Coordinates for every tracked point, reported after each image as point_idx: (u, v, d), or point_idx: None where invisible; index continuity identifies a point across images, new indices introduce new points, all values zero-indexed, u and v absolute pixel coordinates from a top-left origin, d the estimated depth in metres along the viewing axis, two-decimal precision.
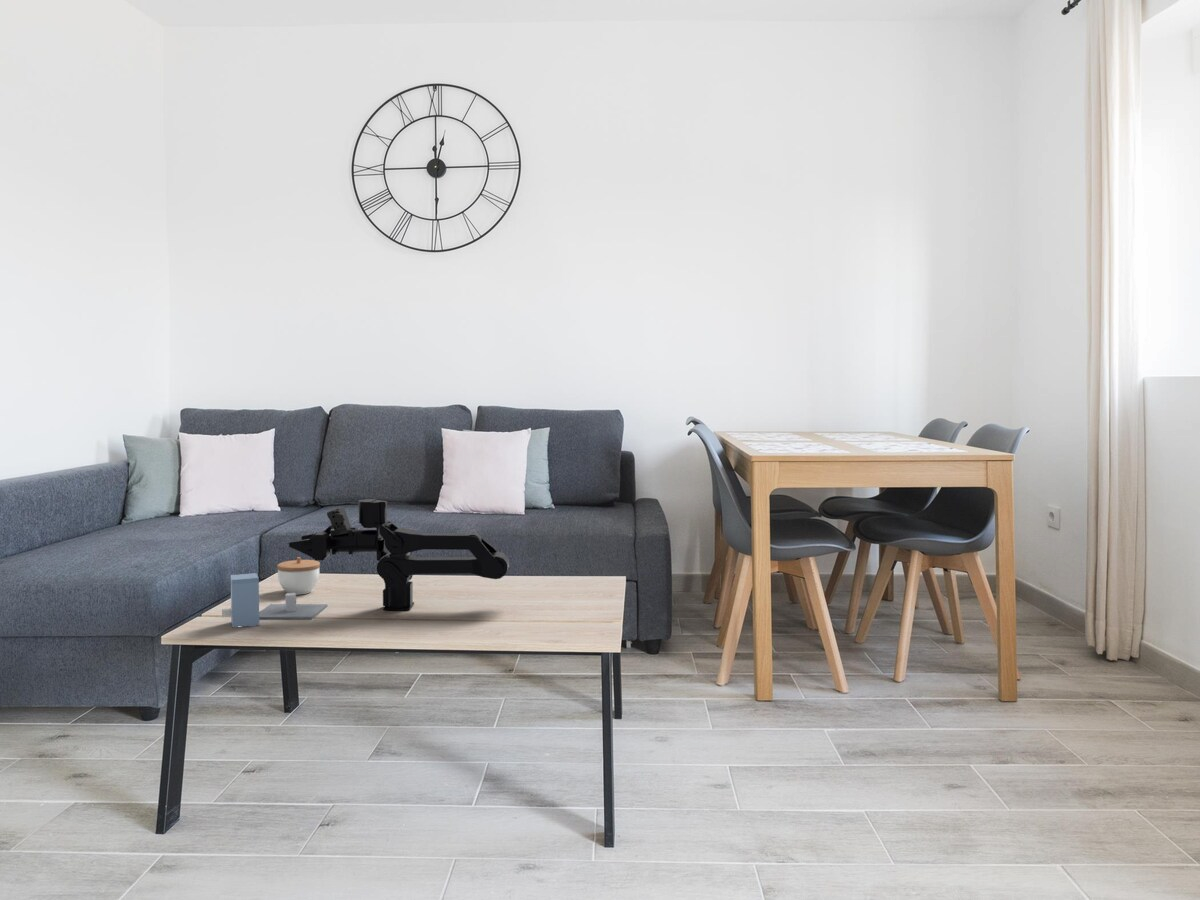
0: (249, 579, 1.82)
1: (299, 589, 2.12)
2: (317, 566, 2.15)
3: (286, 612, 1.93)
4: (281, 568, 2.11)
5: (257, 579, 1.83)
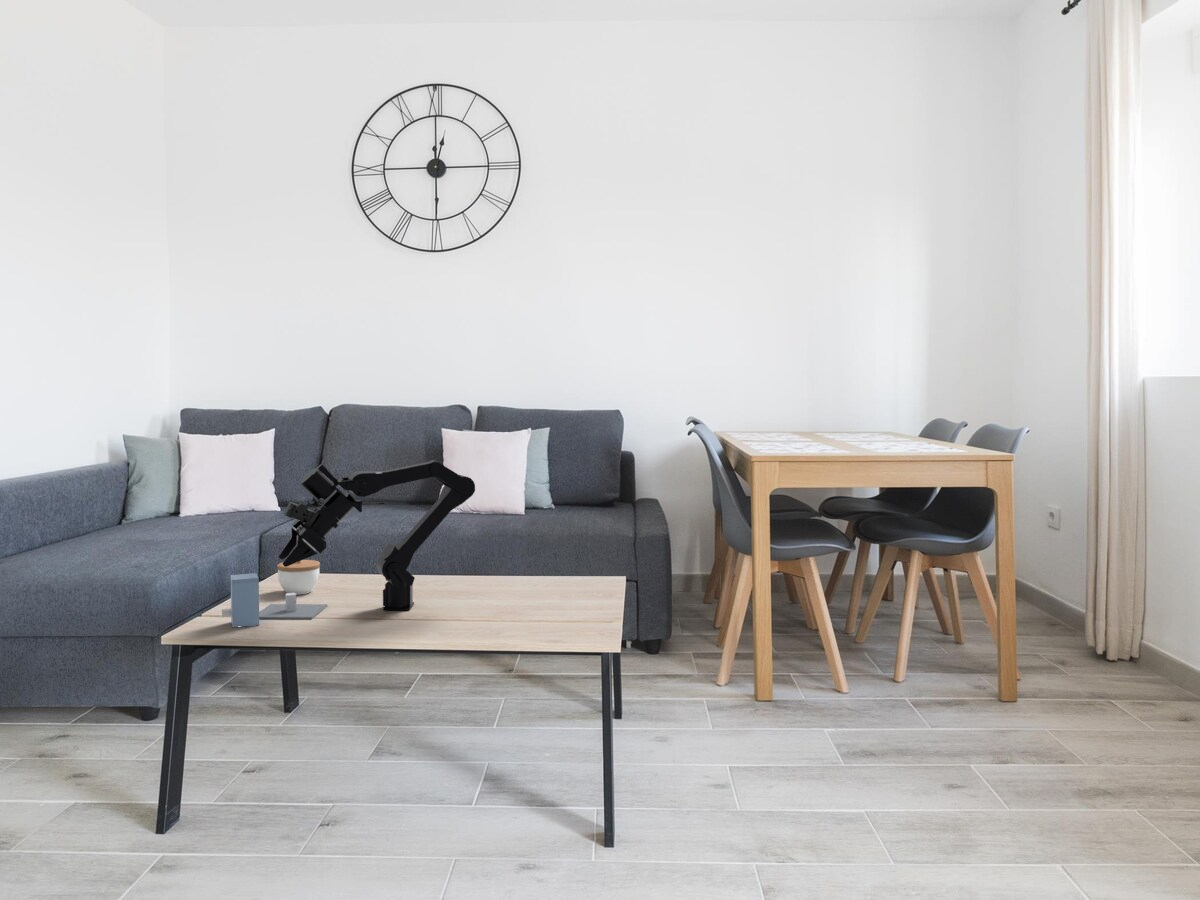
0: (249, 579, 1.82)
1: (299, 589, 2.12)
2: (317, 566, 2.15)
3: (286, 612, 1.93)
4: (281, 568, 2.11)
5: (257, 579, 1.83)
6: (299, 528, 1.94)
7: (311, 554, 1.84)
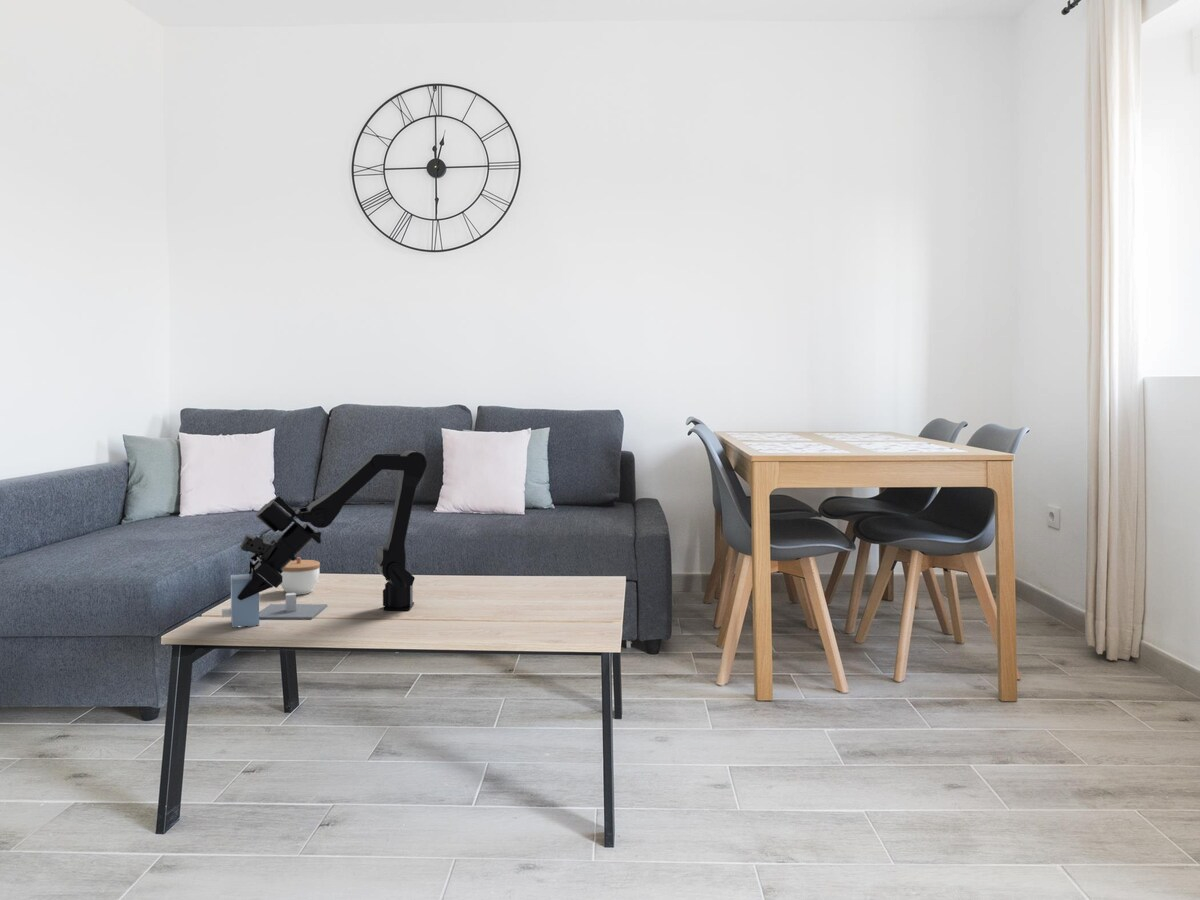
0: (249, 579, 1.82)
1: (299, 589, 2.12)
2: (317, 566, 2.15)
3: (286, 612, 1.93)
4: None
5: None
6: None
7: (266, 587, 1.82)
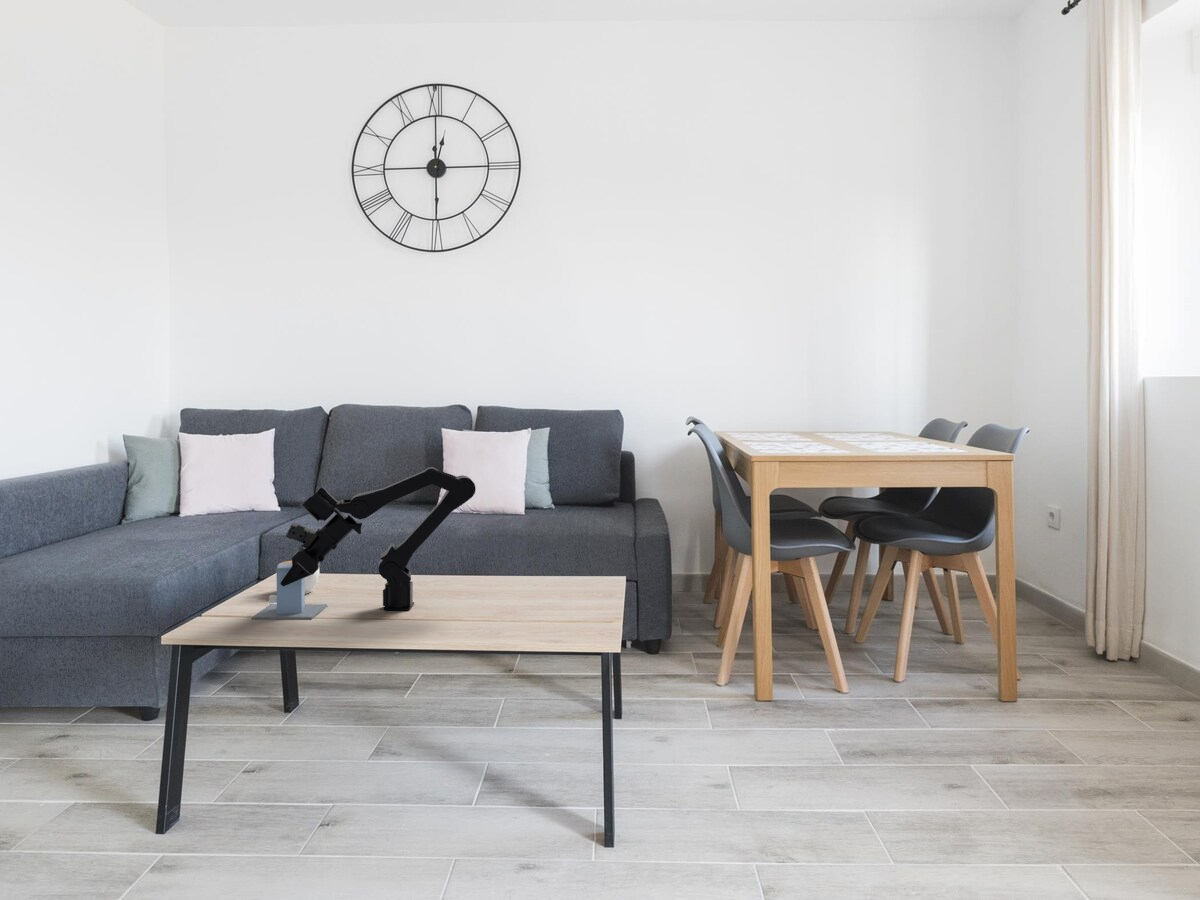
0: None
1: None
2: None
3: None
4: None
5: None
6: None
7: (306, 575, 1.89)
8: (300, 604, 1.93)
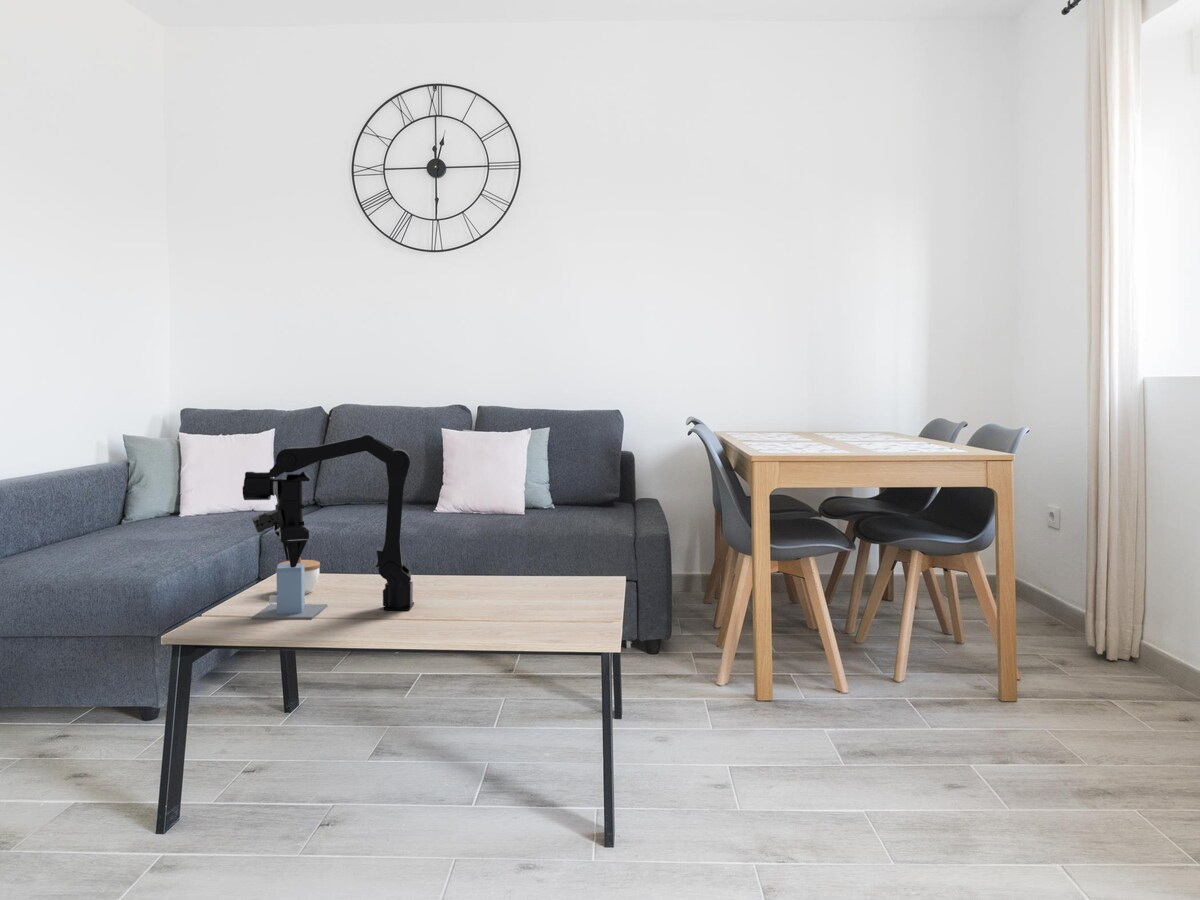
0: (292, 568, 1.92)
1: None
2: (317, 566, 2.15)
3: None
4: None
5: (300, 569, 1.92)
6: (280, 528, 1.98)
7: (304, 543, 1.89)
8: (300, 604, 1.93)
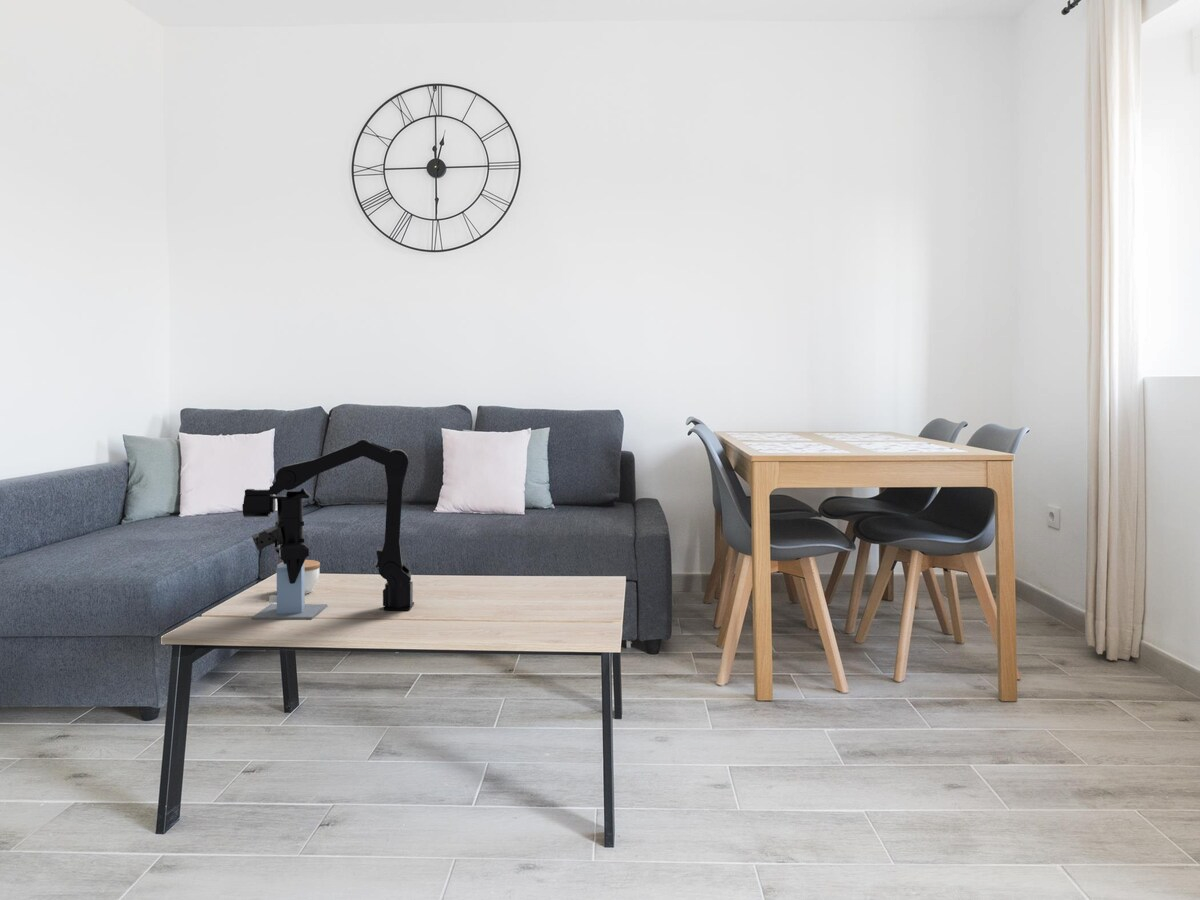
0: None
1: None
2: (317, 566, 2.15)
3: None
4: None
5: None
6: None
7: (303, 560, 1.91)
8: (300, 604, 1.93)
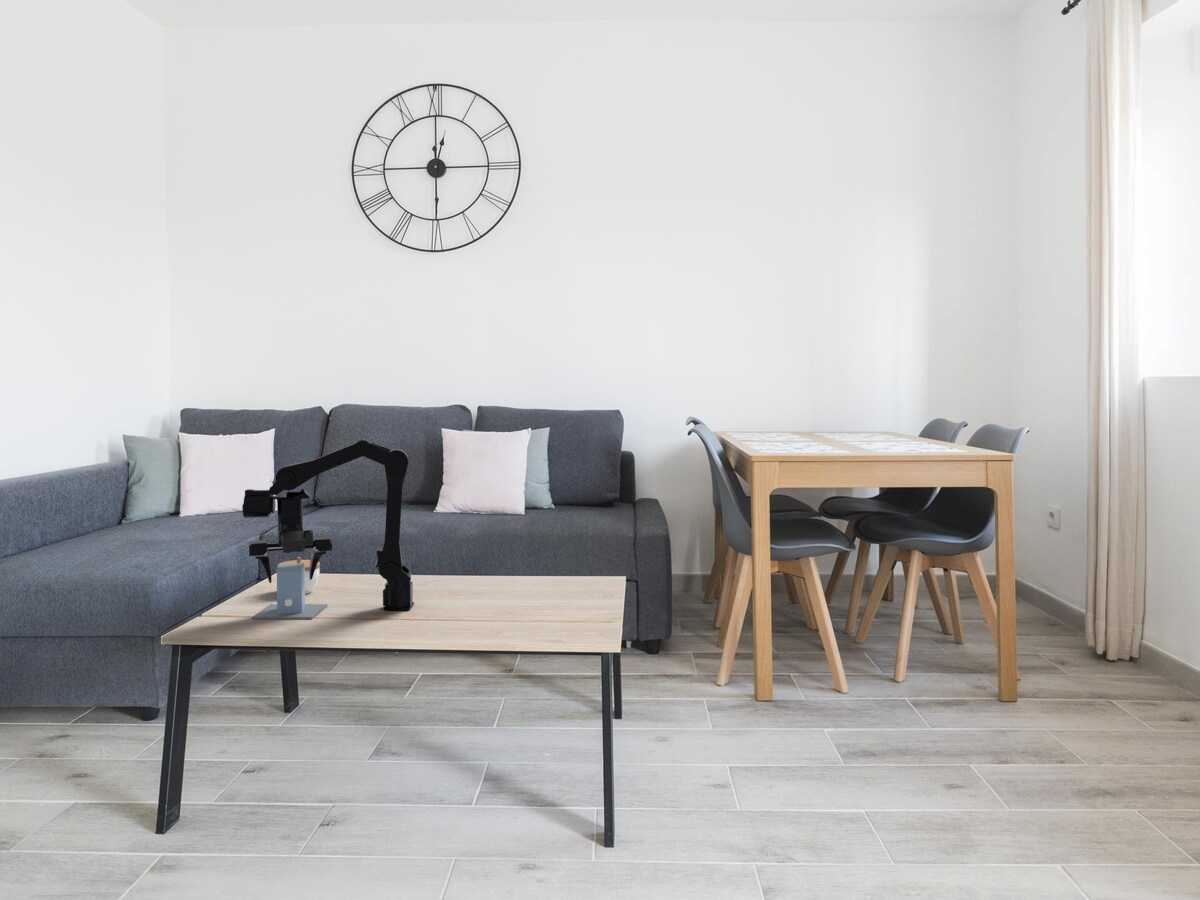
0: (303, 565, 1.96)
1: None
2: (317, 566, 2.15)
3: None
4: None
5: (304, 564, 1.97)
6: (266, 551, 1.90)
7: None
8: (304, 599, 1.98)
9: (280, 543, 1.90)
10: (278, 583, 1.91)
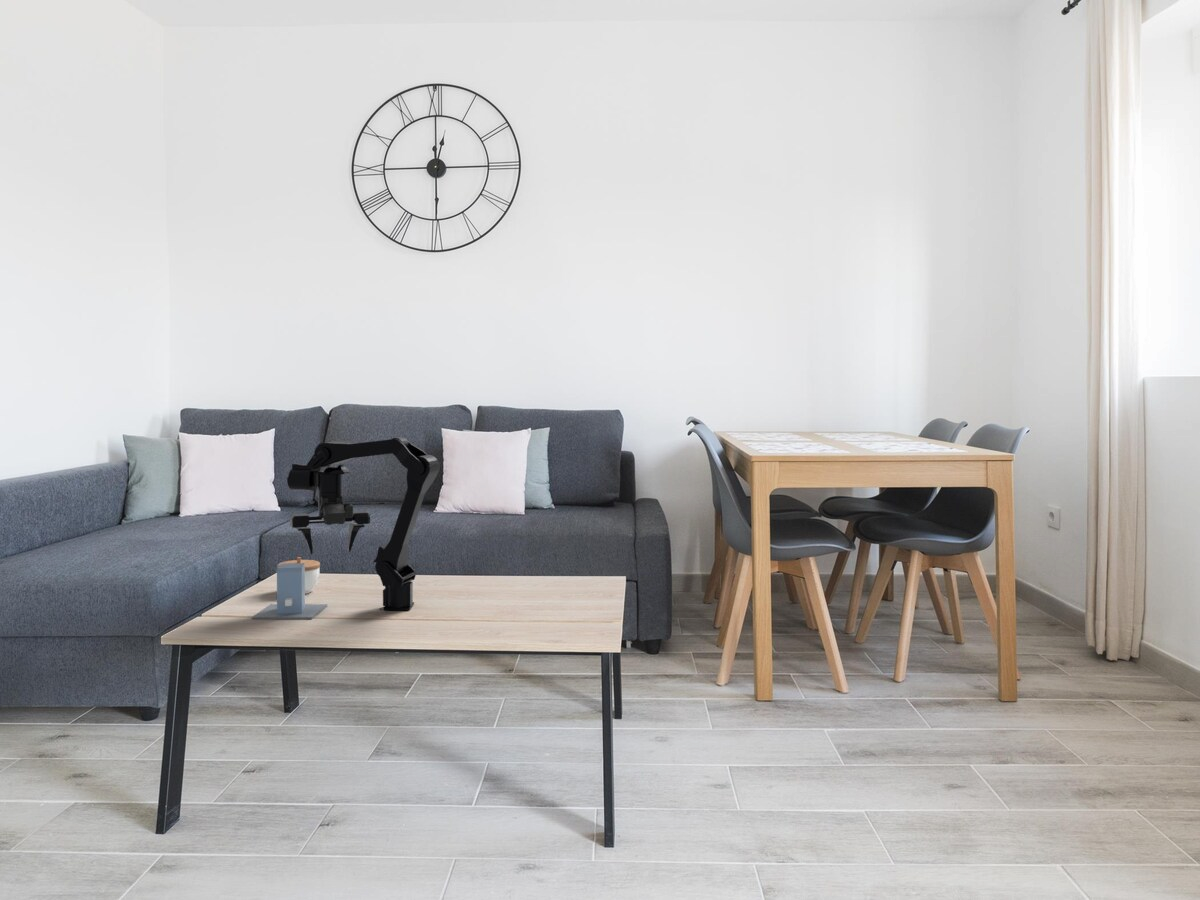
0: (303, 565, 1.96)
1: None
2: (317, 566, 2.15)
3: None
4: None
5: (304, 564, 1.97)
6: None
7: None
8: (304, 599, 1.98)
9: (321, 516, 1.99)
10: (278, 583, 1.91)
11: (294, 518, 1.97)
